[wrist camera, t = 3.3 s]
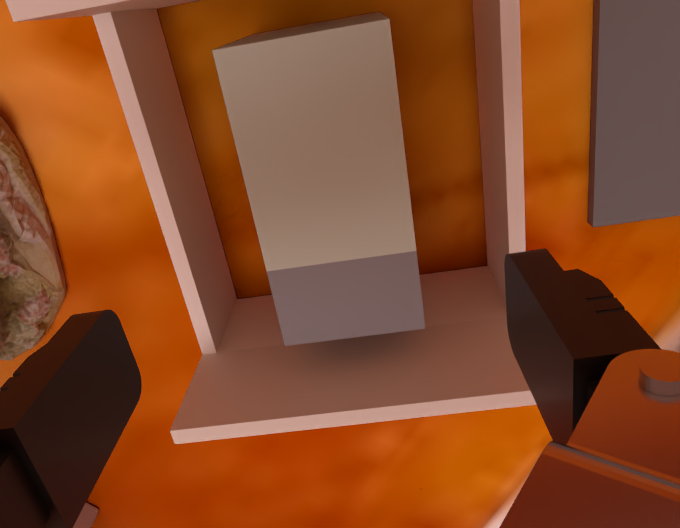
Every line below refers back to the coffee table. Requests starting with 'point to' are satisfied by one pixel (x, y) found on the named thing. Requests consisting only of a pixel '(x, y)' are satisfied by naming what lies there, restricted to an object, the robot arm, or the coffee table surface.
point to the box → (326, 175)
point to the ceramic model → (25, 254)
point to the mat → (634, 112)
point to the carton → (259, 312)
